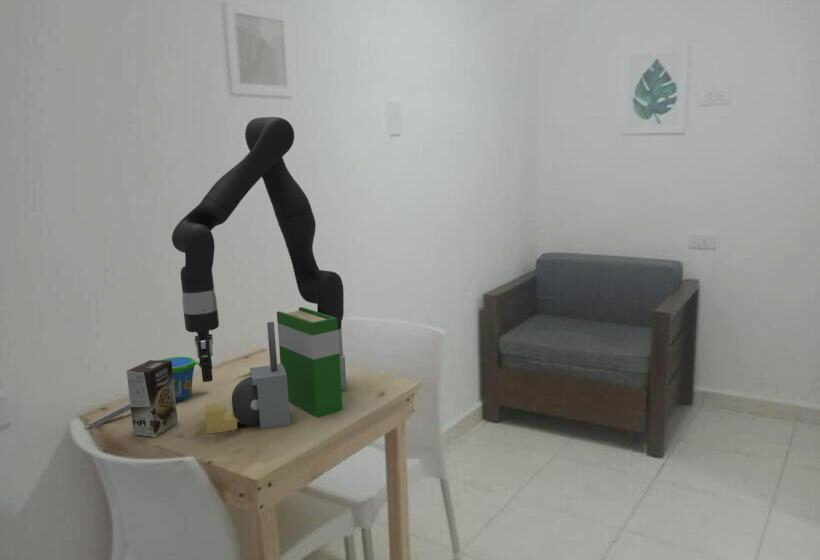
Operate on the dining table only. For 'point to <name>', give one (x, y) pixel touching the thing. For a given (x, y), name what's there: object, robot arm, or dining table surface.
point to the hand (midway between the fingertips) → (207, 375)
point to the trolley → (263, 393)
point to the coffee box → (152, 397)
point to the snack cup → (182, 376)
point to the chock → (219, 419)
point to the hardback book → (311, 360)
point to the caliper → (109, 416)
